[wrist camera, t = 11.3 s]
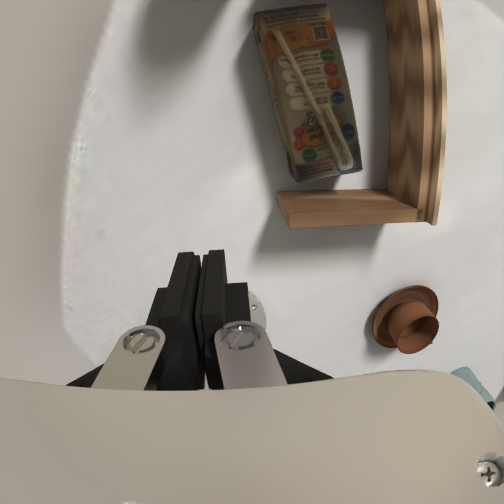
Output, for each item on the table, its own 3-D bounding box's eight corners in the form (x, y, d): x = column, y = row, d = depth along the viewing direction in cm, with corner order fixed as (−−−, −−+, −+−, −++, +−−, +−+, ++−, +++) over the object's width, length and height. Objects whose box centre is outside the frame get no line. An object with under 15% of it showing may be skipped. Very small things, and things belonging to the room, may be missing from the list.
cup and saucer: (444, 287, 47) (463, 308, 41) (410, 344, 51) (424, 366, 46) (390, 272, 45) (409, 295, 39) (356, 336, 49) (369, 362, 44)
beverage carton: (286, 175, 38) (296, 188, 32) (248, 23, 30) (251, 7, 24) (348, 161, 37) (368, 172, 32) (314, 13, 29) (330, -3, 23)
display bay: (399, 200, 40) (436, 225, 31) (278, 204, 39) (291, 233, 31) (396, -12, 27) (434, -31, 19) (267, -28, 26) (278, -62, 18)
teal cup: (455, 394, 61) (476, 429, 50) (428, 396, 60) (449, 435, 49) (479, 363, 57) (504, 398, 46) (452, 363, 56) (478, 403, 45)
